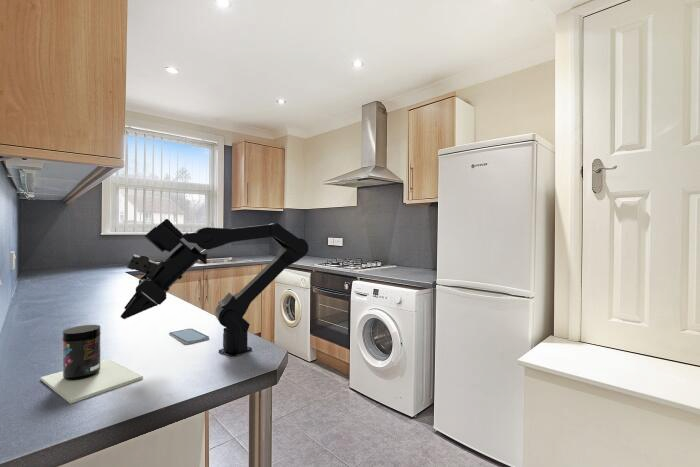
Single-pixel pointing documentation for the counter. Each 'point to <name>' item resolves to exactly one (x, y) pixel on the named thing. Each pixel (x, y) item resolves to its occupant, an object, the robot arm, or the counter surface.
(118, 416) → the counter surface
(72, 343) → the supplement container
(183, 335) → the smartphone
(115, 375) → the mat
